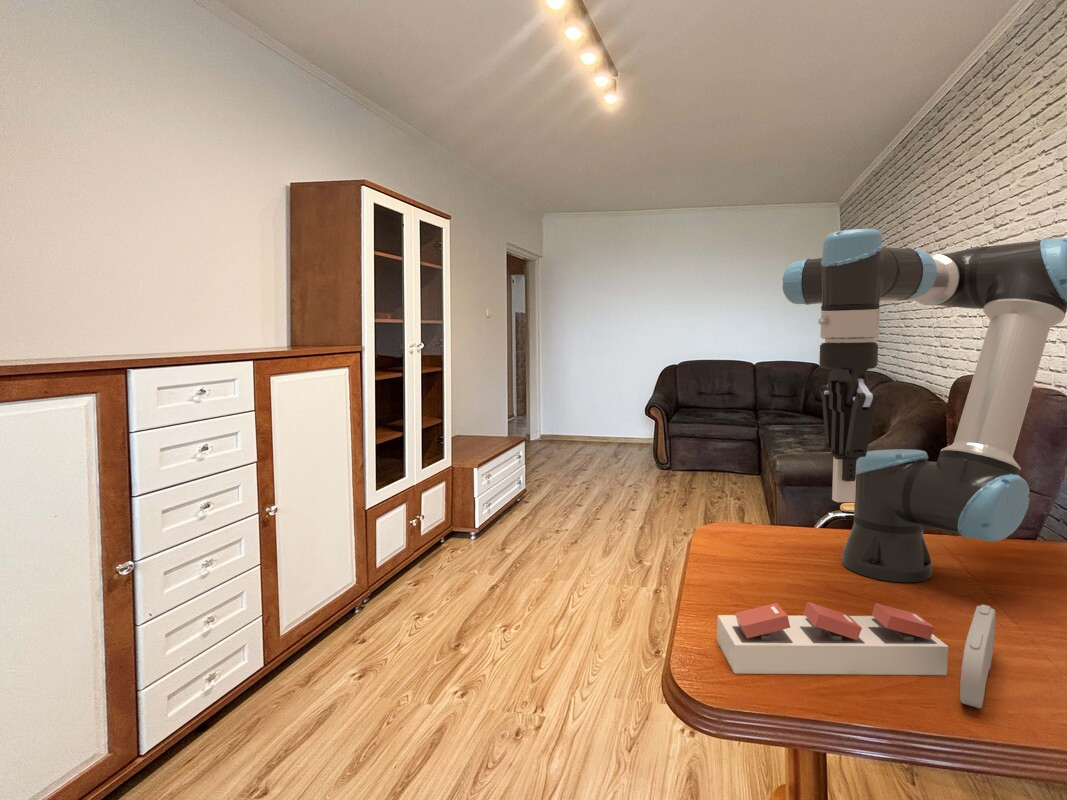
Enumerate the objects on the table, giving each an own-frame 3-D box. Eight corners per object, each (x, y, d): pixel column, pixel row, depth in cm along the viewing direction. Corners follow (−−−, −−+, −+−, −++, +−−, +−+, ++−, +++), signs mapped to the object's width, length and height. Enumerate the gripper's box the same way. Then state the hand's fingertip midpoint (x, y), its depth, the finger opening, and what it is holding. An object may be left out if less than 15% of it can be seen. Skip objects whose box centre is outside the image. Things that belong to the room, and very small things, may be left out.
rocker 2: (843, 626, 88) (848, 614, 88) (857, 640, 84) (862, 627, 84) (803, 613, 88) (807, 601, 88) (814, 626, 84) (820, 613, 84)
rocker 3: (912, 625, 88) (917, 613, 88) (929, 639, 84) (934, 626, 84) (871, 614, 88) (875, 602, 88) (886, 628, 84) (891, 615, 84)
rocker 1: (779, 614, 88) (776, 601, 88) (790, 627, 84) (787, 614, 84) (738, 624, 89) (734, 612, 88) (746, 638, 85) (743, 625, 84)
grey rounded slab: (973, 650, 90) (977, 594, 89) (993, 655, 88) (997, 599, 88) (956, 713, 75) (960, 647, 74) (979, 721, 74) (983, 654, 73)
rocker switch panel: (908, 642, 92) (910, 611, 92) (946, 675, 83) (948, 641, 83) (716, 640, 93) (717, 610, 93) (734, 673, 84) (735, 640, 84)
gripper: (803, 340, 97) (800, 490, 99) (843, 342, 84) (838, 514, 86) (852, 339, 96) (848, 489, 99) (900, 341, 83) (893, 513, 86)
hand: (843, 500), depth 93 cm, fingers closed
